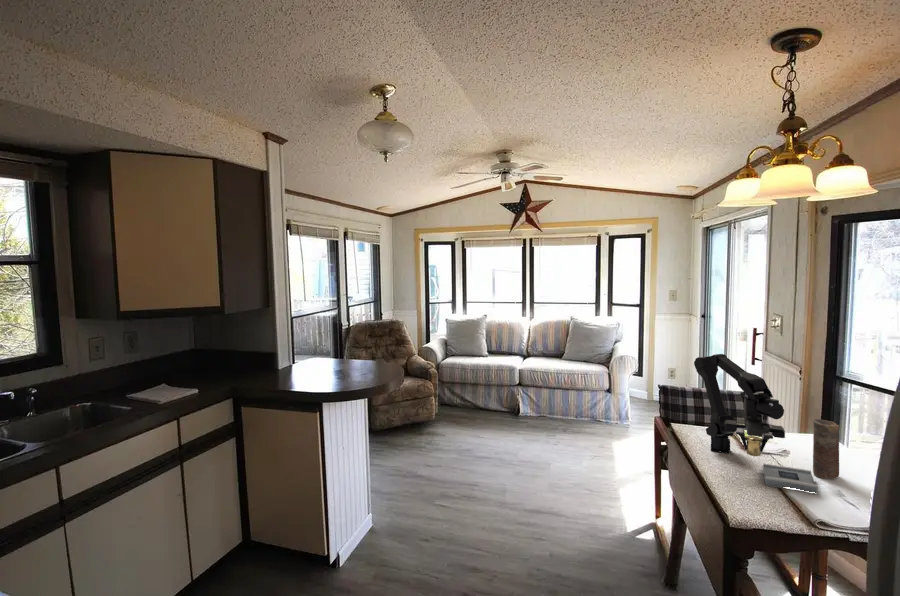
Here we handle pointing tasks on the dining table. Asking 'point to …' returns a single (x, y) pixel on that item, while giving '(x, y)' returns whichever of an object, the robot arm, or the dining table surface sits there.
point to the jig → (788, 477)
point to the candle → (825, 449)
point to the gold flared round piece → (753, 445)
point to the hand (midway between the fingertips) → (753, 450)
